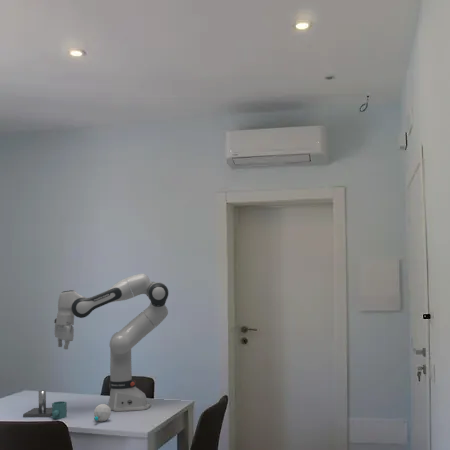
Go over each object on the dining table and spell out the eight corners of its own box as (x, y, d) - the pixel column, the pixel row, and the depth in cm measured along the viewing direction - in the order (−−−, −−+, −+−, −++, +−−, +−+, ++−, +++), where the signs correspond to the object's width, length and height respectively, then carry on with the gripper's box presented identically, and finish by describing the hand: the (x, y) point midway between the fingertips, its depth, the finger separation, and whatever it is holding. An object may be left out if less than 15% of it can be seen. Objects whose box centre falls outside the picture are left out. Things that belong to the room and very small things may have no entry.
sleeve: (55, 415, 295) (55, 401, 296) (67, 415, 295) (67, 401, 295) (48, 420, 286) (48, 405, 286) (61, 420, 285) (61, 405, 286)
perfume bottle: (116, 411, 285) (107, 420, 273) (104, 420, 286) (94, 430, 275) (107, 398, 286) (97, 406, 274) (94, 408, 287) (84, 417, 275)
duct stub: (60, 410, 307) (60, 387, 308) (50, 416, 293) (50, 393, 294) (34, 410, 308) (34, 388, 309) (23, 417, 294) (23, 393, 295)
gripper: (77, 323, 301) (75, 350, 300) (65, 319, 319) (62, 345, 317) (65, 323, 298) (63, 350, 297) (53, 319, 315) (51, 345, 314)
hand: (62, 348), depth 307 cm, fingers open, 8 cm apart
